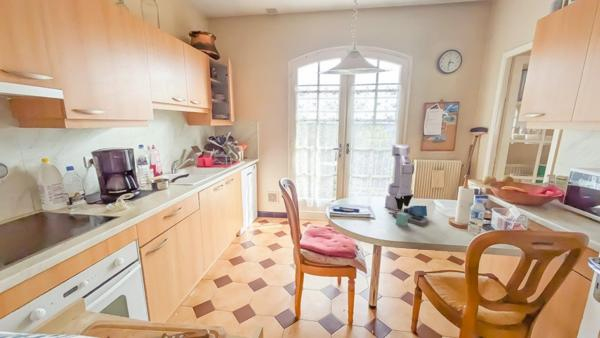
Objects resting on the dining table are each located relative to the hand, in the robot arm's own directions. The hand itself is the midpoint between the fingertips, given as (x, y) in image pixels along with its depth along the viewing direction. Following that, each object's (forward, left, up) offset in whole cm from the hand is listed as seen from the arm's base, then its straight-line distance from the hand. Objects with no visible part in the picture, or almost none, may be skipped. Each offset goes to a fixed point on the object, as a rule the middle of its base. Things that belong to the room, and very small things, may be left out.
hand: (402, 207), depth 139 cm
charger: (+1, -1, -10) cm, 10 cm away
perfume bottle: (+4, +21, -6) cm, 22 cm away
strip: (-2, +9, -10) cm, 14 cm away
